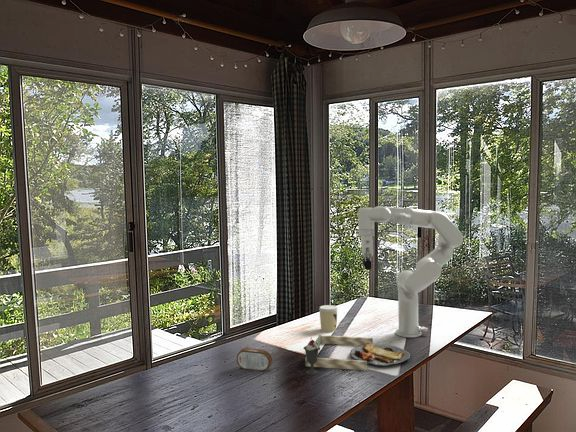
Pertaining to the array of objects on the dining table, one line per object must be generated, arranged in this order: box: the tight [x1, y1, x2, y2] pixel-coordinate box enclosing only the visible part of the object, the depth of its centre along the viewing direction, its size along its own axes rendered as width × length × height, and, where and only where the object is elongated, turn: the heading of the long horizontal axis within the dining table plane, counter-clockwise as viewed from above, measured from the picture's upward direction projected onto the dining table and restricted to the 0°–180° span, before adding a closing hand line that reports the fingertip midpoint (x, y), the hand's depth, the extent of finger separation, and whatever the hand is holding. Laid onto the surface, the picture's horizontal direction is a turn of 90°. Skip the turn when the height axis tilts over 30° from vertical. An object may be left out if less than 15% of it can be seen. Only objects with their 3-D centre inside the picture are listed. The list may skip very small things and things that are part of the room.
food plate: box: [349, 343, 411, 367], centre depth 209 cm, size 25×23×4 cm
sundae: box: [303, 337, 321, 376], centre depth 193 cm, size 7×7×15 cm
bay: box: [304, 334, 374, 371], centre depth 213 cm, size 25×31×4 cm
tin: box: [236, 347, 273, 372], centre depth 199 cm, size 15×3×8 cm, turn 71°
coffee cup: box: [318, 304, 338, 333], centre depth 250 cm, size 9×9×12 cm
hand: (367, 267), depth 238 cm, fingers open, 9 cm apart
